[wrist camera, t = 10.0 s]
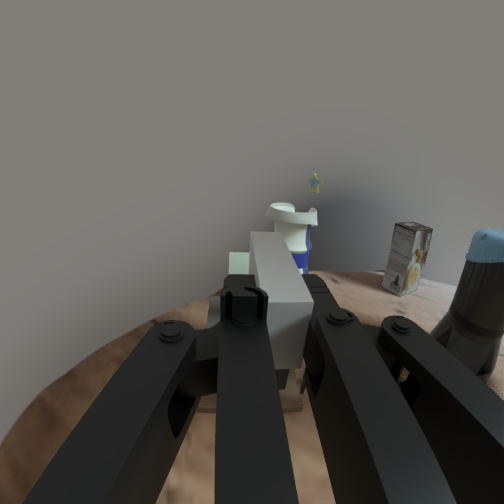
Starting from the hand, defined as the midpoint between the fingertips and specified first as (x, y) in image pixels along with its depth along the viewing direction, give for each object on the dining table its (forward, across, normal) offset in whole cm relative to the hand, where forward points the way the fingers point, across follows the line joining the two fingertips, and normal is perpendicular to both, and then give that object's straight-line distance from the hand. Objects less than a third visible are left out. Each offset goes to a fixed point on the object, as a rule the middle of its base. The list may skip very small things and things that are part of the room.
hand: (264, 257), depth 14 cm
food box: (+39, +39, -24) cm, 61 cm away
